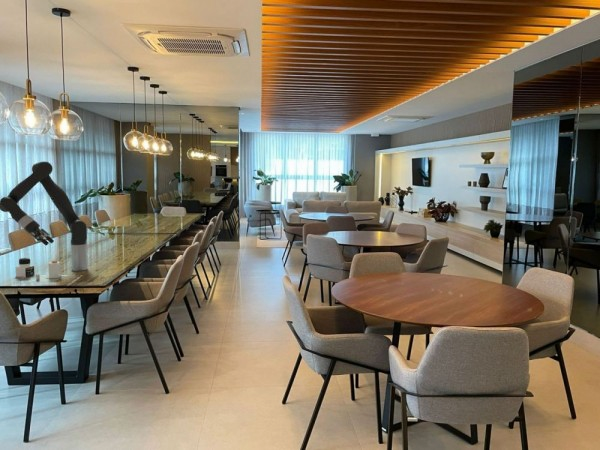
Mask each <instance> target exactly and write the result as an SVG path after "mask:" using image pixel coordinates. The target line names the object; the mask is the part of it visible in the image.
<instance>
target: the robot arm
mask: <svg viewBox="0 0 600 450" xmlns="http://www.w3.org/2000/svg"><path fill="white" fill-rule="evenodd" d="M31 171H32V172H31V174H29V175H28V176H27V177H26V178H24V179H23V180H22V181H20V182H19V183H18V184H16V186H15V187H14V188H12V189H11V191H9V194H8V195H7V196H4V197H2V198H0V211H1V212H3V213H9V214H10V216H11V219H13V221H14V222H16V223H17V225H19V226H20V227H21V228H22V229H23V230H24V231H25V232H27V233H28V234H29V235H31V236H32V237H33V238H34V239H35V240H36V241H38V242H41V243H42V244H43V245H44V246H48V245H49V244H53V243H54V242H55V241H54V239H53V238H52V237H51V234H50V233H49V232H47V231H46V230H45V229H44V228H40V227H41V225H40V224H39V223H38V222H37V221H36V220H35V219H34V218H33V217H32V216H30V215H28V214H27V213H26V212H25V210H23V209H22V208H21V206H19V205H18V204H19V202H20V200H22V199H23V198H24V197H25V196H26V195H28V193H29V192H30V191H31V190H32V189H33V188H34V187H35V186H36V185H37V184H38V183H40V184H41V186H42V187H43V188H44V190H45V192H46V193H47V195H48V196H49V198H50V200H51V202H52V203H53V204H54V206H55V208H56V209H57V210H58V211H59V213H60V214H61V215H62V217H63V218H64V220H65V222H66V224H67V226H68V228H69V230H70V231H71V240H70V253H71V255H70V256H71V271H74V272H75V271H76V272H77V271H78V272H80V271H86V270H88V255H87V254H88V253H87V252H88V251H87V238H88V236H87V235H88V229H87V224H86V222H84V221H82V220H81V219H80V217H79V216H78V214H77V213H76V211H75V210H74V207H73V205H72V202H71V200H70V198H69V197H68V194H67V193H66V192H65V190H63V188H62V187H60V186H59V185H58V184H57V183H56V182H55V181H54V179H52V177H51V176H50V175H51V174H52V173H53V165H52V163H50V162H49V161H46V160H45V161H44V160H42V161H39V162H36V163H34V164H32V167H31Z"/></svg>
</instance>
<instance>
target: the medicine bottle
mask: <svg viewBox="0 0 600 450" xmlns="http://www.w3.org/2000/svg"><path fill="white" fill-rule="evenodd" d="M31 264H32V263H31V258H30V257H21V258H19V259H18V266H16V267H15V277H17V278H28V277H32V276H36V274H35V265H31Z"/></svg>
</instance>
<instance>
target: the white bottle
mask: <svg viewBox="0 0 600 450" xmlns="http://www.w3.org/2000/svg"><path fill="white" fill-rule="evenodd" d="M47 266H48V275H49V278H59V277H61V275H62V262H61V261H58V260H56V259H55V260H51V261H50V262H48V265H47Z"/></svg>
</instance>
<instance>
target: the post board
mask: <svg viewBox="0 0 600 450" xmlns="http://www.w3.org/2000/svg"><path fill="white" fill-rule="evenodd" d="M35 276H36V277H34V278H32V279H30V280H28V281H26V283H54V282H57V281H59V280H60V279H63V278H65V277H68V276H69V274H61V277H59V278H49V274H43V275H40V273H37V274H35Z"/></svg>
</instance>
